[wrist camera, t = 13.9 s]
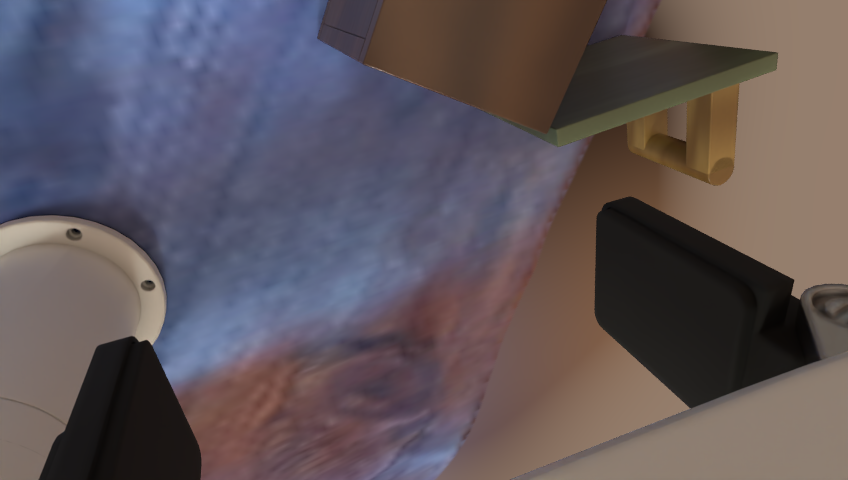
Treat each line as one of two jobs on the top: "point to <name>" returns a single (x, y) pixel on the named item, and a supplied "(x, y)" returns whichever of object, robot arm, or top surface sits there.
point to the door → (660, 100)
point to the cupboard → (471, 48)
